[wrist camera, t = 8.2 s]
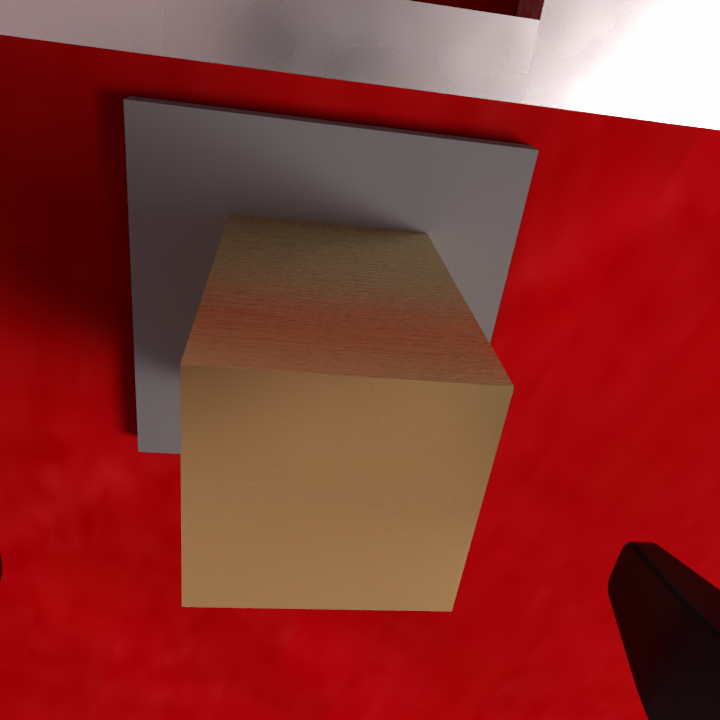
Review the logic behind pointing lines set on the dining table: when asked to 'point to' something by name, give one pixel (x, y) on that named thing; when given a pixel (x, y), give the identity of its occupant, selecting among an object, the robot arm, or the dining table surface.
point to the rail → (428, 46)
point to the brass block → (333, 422)
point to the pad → (295, 213)
